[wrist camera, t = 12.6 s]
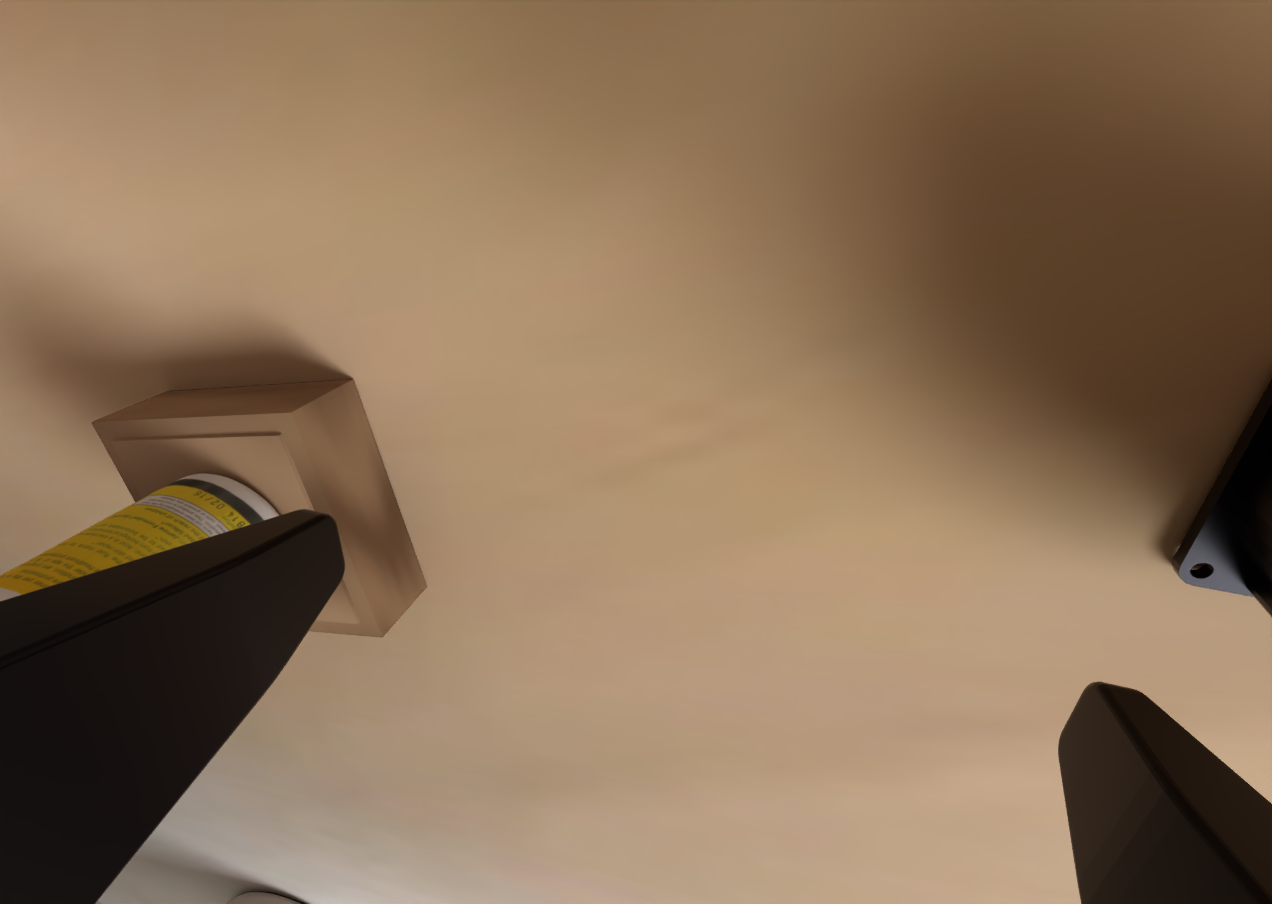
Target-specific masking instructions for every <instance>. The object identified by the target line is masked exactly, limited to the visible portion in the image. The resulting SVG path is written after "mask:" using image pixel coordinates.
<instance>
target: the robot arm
mask: <svg viewBox="0 0 1272 904" xmlns="http://www.w3.org/2000/svg"><path fill="white" fill-rule="evenodd" d="M1199 563H1206V564H1205V565H1204V566H1203V567H1202V568H1199V569H1197V570H1190V569H1191V568H1192V567H1193V566H1194V565H1196V564H1199ZM1172 565H1173V568H1174V570H1175V572H1176V573H1177V574H1178V576H1179V577H1180V578H1181V579H1182V580H1183V581H1184V582H1185V583H1187V584H1190V585H1193V586H1198V587H1203V588H1209V589H1214V590H1219V591H1225V592H1230V593H1236V594H1241V595H1246V596H1252V597H1255V598H1256V599H1257V601H1258V602H1259V603H1260V604H1261V605H1262V606H1263V607H1264V609H1265V610H1266V611H1267V612H1268V613H1269V614H1270V616H1271V617H1272V380H1271V382H1270V383H1269V385H1268V387H1267V389H1266V391H1265V392H1264V394H1263V396H1262V398H1261V400H1260V402H1259V403H1258V405H1257V407H1256V409H1255V411H1254V413H1253V414H1252V416H1251V418H1250V420H1249V422H1248V423H1247V425H1246V427H1245V429H1244V431H1243V433H1242V434H1241V436H1240V438H1239V440H1238V442H1237V443H1236V445H1235V447H1234V449H1233V451H1232V453H1231V454H1230V456H1229V458H1228V460H1227V462H1226V464H1225V465H1224V467H1223V469H1222V471H1221V473H1220V474H1219V476H1218V478H1217V480H1216V482H1215V484H1214V485H1213V487H1212V489H1211V491H1210V493H1209V494H1208V496H1207V498H1206V500H1205V502H1204V504H1203V505H1202V507H1201V509H1200V511H1199V513H1198V515H1197V516H1196V518H1195V520H1194V522H1193V524H1192V525H1191V527H1190V529H1189V531H1188V533H1187V535H1186V536H1185V538H1184V540H1183V542H1182V544H1181V545H1180V547H1179V549H1178V551H1177V553H1176V555H1175V556H1174V558H1173V562H1172ZM344 571H345V560H344V555H343V550H342V545H341V541H340V536H339V531H338V526H337V523H336V521H335V519H334V518H333V517H332V516H331V515H329V514H327V513H322V512H318V511H313V510H308V509H300V510H296V511H293V512H289V513H286V514H283V515H280V516H276V517H273V518H270V519H267V520H263V521H260V522H257V523H253V524H250V525H247V526H244V527H240V528H237V529H234V530H231V531H227V532H224V533H221V534H218V535H214V536H211V537H208V538H205V539H201V540H198V541H195V542H192V543H188V544H185V545H182V546H179V547H175V548H172V549H169V550H166V551H162V552H159V553H156V554H153V555H149V556H146V557H143V558H139V559H136V560H133V561H130V562H126V563H123V564H120V565H117V566H113V567H110V568H107V569H104V570H100V571H97V572H94V573H91V574H87V575H84V576H81V577H78V578H74V579H71V580H68V581H65V582H61V583H58V584H55V585H52V586H48V587H45V588H42V589H39V590H35V591H32V592H29V593H26V594H22V595H19V596H16V597H12V598H9V599H6V600H3V601H0V904H95V903H96V902H97V901H98V899H99V898H100V897H101V896H102V894H103V893H104V892H105V891H106V890H107V888H108V887H109V886H110V885H111V883H112V882H113V881H114V880H115V878H116V877H117V876H118V875H119V873H120V872H121V871H122V870H123V868H124V867H125V866H126V865H127V863H128V862H129V861H130V860H131V859H132V857H133V856H134V855H135V854H136V852H137V851H138V850H139V849H140V847H141V846H142V845H143V844H144V842H145V841H146V840H147V839H148V837H149V836H150V835H151V834H152V832H153V831H154V830H155V829H156V828H157V826H158V825H159V824H160V823H161V821H162V820H163V819H164V818H165V816H166V815H167V814H168V813H169V811H170V810H171V809H172V808H173V806H174V805H175V804H176V803H177V801H178V800H179V799H180V798H181V797H182V795H183V794H184V793H185V792H186V790H187V789H188V788H189V787H190V785H191V784H192V783H193V782H194V780H195V779H196V778H197V777H198V775H199V774H200V773H201V772H202V771H203V769H204V768H205V767H206V766H207V764H208V763H209V762H210V761H211V759H212V758H213V757H214V756H215V754H216V753H217V752H218V751H219V749H220V748H221V747H222V746H223V744H224V743H225V742H226V741H227V740H228V738H229V737H230V736H231V735H232V733H233V732H234V731H235V730H236V728H237V727H238V726H239V725H240V723H241V722H242V721H243V720H244V718H245V717H246V716H247V715H248V713H249V712H250V711H251V710H252V709H253V707H254V706H255V705H256V704H257V702H258V701H259V700H260V699H261V697H262V696H263V695H264V694H265V692H266V691H267V690H268V688H269V687H270V686H271V684H272V683H273V682H274V681H275V679H276V678H277V676H278V675H279V674H280V672H281V671H282V669H283V668H284V666H285V665H286V664H287V662H288V661H289V659H290V658H291V656H292V655H293V653H294V652H295V650H296V649H297V647H298V646H299V644H300V643H301V641H302V640H303V638H304V637H305V635H306V634H307V632H308V631H309V629H310V628H311V626H312V625H313V623H314V622H315V620H316V619H317V617H318V616H319V614H320V613H321V611H322V610H323V608H324V607H325V605H326V604H327V602H328V601H329V599H330V598H331V596H332V595H333V593H334V592H335V590H336V589H337V587H338V586H339V584H340V582H341V580H342V578H343V575H344ZM1058 755H1059V763H1060V770H1061V776H1062V783H1063V790H1064V796H1065V803H1066V809H1067V816H1068V823H1069V829H1070V836H1071V843H1072V849H1073V856H1074V862H1075V869H1076V876H1077V882H1078V888H1079V893H1080V899H1081V904H1272V804H1271V803H1270V802H1269V801H1268V800H1267V799H1265V798H1264V797H1263V796H1262V795H1261V794H1260V793H1258V792H1257V791H1256V790H1255V789H1254V788H1253V787H1251V786H1250V785H1249V784H1248V783H1247V782H1246V781H1244V780H1243V779H1242V778H1241V777H1240V776H1239V775H1237V774H1236V773H1235V772H1234V771H1233V770H1232V769H1231V768H1229V767H1228V766H1227V765H1226V764H1225V763H1224V762H1222V761H1221V760H1220V759H1219V758H1218V757H1217V756H1215V755H1214V754H1213V753H1212V752H1211V751H1210V750H1208V749H1207V748H1206V747H1205V746H1204V745H1203V744H1202V743H1200V742H1199V741H1198V740H1197V739H1196V738H1195V737H1193V736H1192V735H1191V734H1190V733H1189V732H1188V731H1186V730H1185V729H1184V728H1183V727H1182V726H1181V725H1179V724H1178V723H1177V722H1176V721H1175V720H1174V719H1173V718H1171V717H1170V716H1169V715H1168V714H1167V713H1166V712H1164V711H1163V710H1162V709H1161V708H1160V707H1159V706H1157V705H1156V704H1155V703H1154V702H1153V701H1152V700H1150V699H1149V698H1148V697H1147V696H1146V695H1144V694H1143V693H1141V692H1139V691H1137V690H1135V689H1131V688H1127V687H1122V686H1118V685H1113V684H1108V683H1104V682H1093V683H1091V684H1089V685H1088V686H1087V687H1086V688H1085V690H1084V691H1083V693H1082V695H1081V696H1080V698H1079V700H1078V702H1077V704H1076V706H1075V708H1074V710H1073V712H1072V713H1071V715H1070V717H1069V719H1068V721H1067V723H1066V725H1065V727H1064V729H1063V730H1062V733H1061V736H1060V739H1059V746H1058Z"/></svg>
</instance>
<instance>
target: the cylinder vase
mask: <svg viewBox="0 0 1272 904" xmlns="http://www.w3.org/2000/svg"><path fill="white" fill-rule="evenodd" d="M227 904H301V903H298V902H296V901H294V900H291V899H288V898H285V897H282V896H279V895H275V894H270V893H263V892H251V893H245V894H242V895H239V896H237V897H235V898H233V899H232V900H231V901H229V902H228V903H227Z"/></svg>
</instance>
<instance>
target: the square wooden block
mask: <svg viewBox="0 0 1272 904" xmlns="http://www.w3.org/2000/svg"><path fill="white" fill-rule="evenodd" d="M91 423H92V424H93V426H94V428H95V430H96V432H97V433H98V435H99V437H100V439H101V441H102V443H103V444H104V446H105V448H106V450H107V452H108V453H109V455H110V457H111V459H112V461H113V463H114V464H115V466H116V468H117V470H118V472H119V473H120V475H121V477H122V479H123V481H124V482H125V484H126V486H127V488H128V490H129V492H130V493H131V495H132V497H133V499H134V501H135V502H137V501H139V500H141V499H143V498H145V497H146V496H148V495H150V494H152V493H153V492H155V491H157V490H159V489H161V488H163V487H165V486H167V485H168V484H170V483H172V482H175V481H177V480H179V479H181V478H183V477H186V476H189V475H193V474H215V475H220V476H224V477H227V478H230V479H233V480H235V481H237V482H239V483H241V484H243V485H245V486H246V487H248V488H250V489H251V490H253V491H254V492H256V493H257V494H258V495H260V496H261V497H262V498H263V499H264V500H266V501H267V502H268V503H269V504H270V505H271V506H272V507H273V508H274V509H275V511H276V512H277V513H278V514H279V515H283V514H286V513H289V512H293V511H296V510H300V509H308V510H313V511H318V512H322V513H327V514H329V515H331V516H332V517H333V518H334V519H335V521H336V523H337V526H338V531H339V536H340V541H341V545H342V550H343V555H344V560H345V571H344V575H343V578H342V580H341V582H340V584H339V586H338V587H337V589H336V590H335V592H334V593H333V595H332V596H331V598H330V599H329V601H328V602H327V604H326V605H325V607H324V608H323V610H322V611H321V613H320V614H319V616H318V617H317V619H316V620H315V622H314V623H313V625H312V626H311V628H310V629H309V631H312V632H324V633H335V634H347V635H359V636H371V637H383V636H384V635H385V634H386V633H387V632H388V631H389V630H390V628H391V627H392V626H393V625H394V624H395V623H396V622H397V620H398V619H399V618H400V617H401V616H402V615H403V614H404V613H405V611H406V610H407V609H408V608H409V607H410V606H411V605H412V603H413V602H414V601H415V600H416V599H417V598H418V597H419V595H420V594H421V593H422V592H423V591H424V590H425V589H426V587H427V586H426V583H425V580H424V577H423V574H422V572H421V569H420V566H419V563H418V560H417V557H416V555H415V552H414V549H413V546H412V543H411V541H410V538H409V535H408V532H407V529H406V526H405V524H404V521H403V518H402V515H401V512H400V510H399V507H398V504H397V501H396V498H395V496H394V493H393V490H392V487H391V484H390V481H389V479H388V476H387V473H386V470H385V467H384V465H383V462H382V459H381V456H380V453H379V450H378V448H377V445H376V442H375V439H374V436H373V434H372V431H371V428H370V425H369V422H368V420H367V417H366V414H365V411H364V408H363V405H362V403H361V400H360V397H359V394H358V391H357V389H356V386H355V383H354V380H353V379H349V380H334V381H319V382H304V383H289V384H274V385H258V386H243V387H228V388H213V389H198V390H183V391H167V392H164V393H162V394H160V395H157V396H155V397H152V398H150V399H147V400H145V401H142V402H140V403H137V404H135V405H132V406H130V407H128V408H125V409H123V410H120V411H118V412H115V413H113V414H110V415H108V416H105V417H103V418H100V419H98V420H96V421H93V422H91Z"/></svg>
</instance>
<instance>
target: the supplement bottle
mask: <svg viewBox="0 0 1272 904" xmlns="http://www.w3.org/2000/svg"><path fill="white" fill-rule="evenodd" d="M276 516H280V515H279V514H278V513H277V512H276V511H275V509H274V508H273V507H272V506H271V505H270V504H269V503H268V502H267V501H266V500H264V499H263V498H262V497H261V496H260V495H258V494H257V493H256V492H254V491H253V490H251V489H250V488H248V487H246V486H245V485H243V484H241V483H239V482H237V481H235V480H233V479H230V478H227V477H224V476H220V475H215V474H193V475H189V476H186V477H183V478H181V479H179V480H177V481H175V482H172V483H170V484H168V485H167V486H165V487H163V488H161V489H159V490H157V491H155V492H153V493H152V494H150V495H148V496H146V497H145V498H143V499H141V500H139V501H137V502H135V503H134V504H132V505H130V506H128V507H126V508H124V509H122V510H121V511H119V512H117V513H115V514H113V515H111V516H109V517H107V518H106V519H104V520H102V521H100V522H98V523H96V524H95V525H93V526H91V527H89V528H87V529H85V530H84V531H82V532H80V533H78V534H76V535H75V536H73V537H71V538H69V539H67V540H66V541H64V542H62V543H60V544H58V545H56V546H55V547H53V548H51V549H49V550H47V551H46V552H44V553H42V554H40V555H38V556H36V557H35V558H33V559H31V560H29V561H27V562H25V563H23V564H21V565H19V566H18V567H16V568H14V569H12V570H10V571H8V572H6V573H4V574H3V575H1V576H0V601H3V600H6V599H9V598H12V597H16V596H19V595H22V594H26V593H29V592H32V591H35V590H39V589H42V588H45V587H48V586H52V585H55V584H58V583H61V582H65V581H68V580H71V579H74V578H78V577H81V576H84V575H87V574H91V573H94V572H97V571H100V570H104V569H107V568H110V567H113V566H117V565H120V564H123V563H126V562H130V561H133V560H136V559H139V558H143V557H146V556H149V555H153V554H156V553H159V552H162V551H166V550H169V549H172V548H175V547H179V546H182V545H185V544H188V543H192V542H195V541H198V540H201V539H205V538H208V537H211V536H214V535H218V534H221V533H224V532H227V531H231V530H234V529H237V528H240V527H244V526H247V525H250V524H253V523H257V522H260V521H263V520H267V519H270V518H273V517H276Z"/></svg>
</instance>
